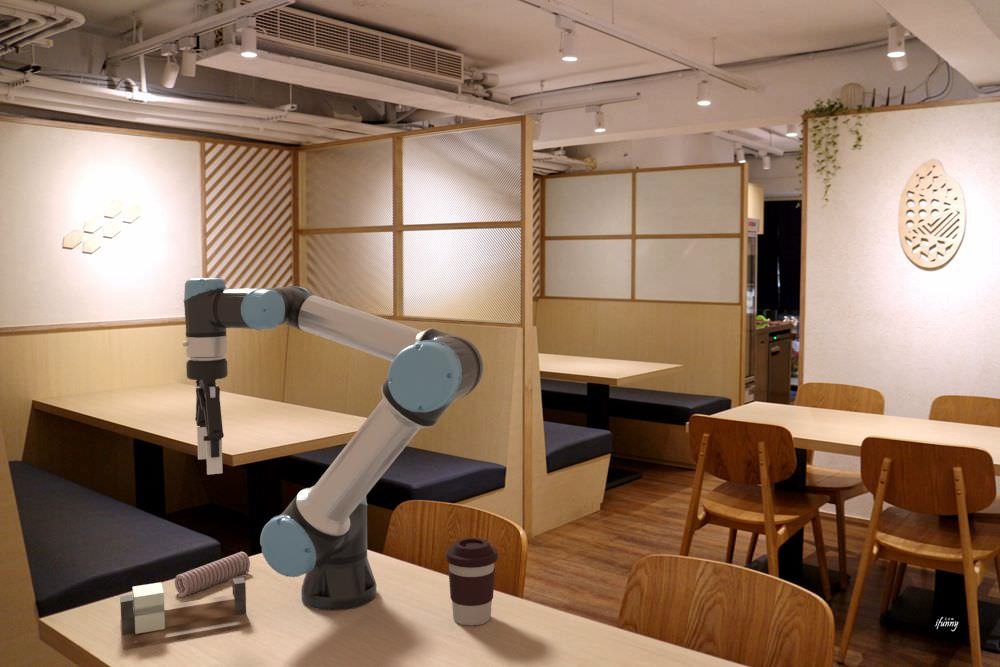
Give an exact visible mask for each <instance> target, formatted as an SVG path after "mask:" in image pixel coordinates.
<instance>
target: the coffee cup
mask: <svg viewBox="0 0 1000 667" xmlns="http://www.w3.org/2000/svg"><path fill="white" fill-rule="evenodd" d="M498 554H499V553H498V549H497V548H496V547H494V546H493V545H491V544H490V542H489V541H488V540H486V539H484V538H479V537H466V538H459V539H457V540H456V541H455V542H453V545H452V546H450V547H448V548H447V549H446V551H445V560H446V562H447V563H448V564H449V566H448V580H449V594H450V596H449V597H450V600H451V607H452V618H453V620H454V621H455V622H456V623H457V624H459V625H462V626H467V625H468V627H474V625H476V626H480V625H481V626H482V625H484V624H486V623H487V622H489V621H490V619H491V617H492V603H493V599H494V592H495V591H494V590H495V579H496V578H495V574H496V568H495V563H497V560H498V559H499V555H498Z"/></svg>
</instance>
